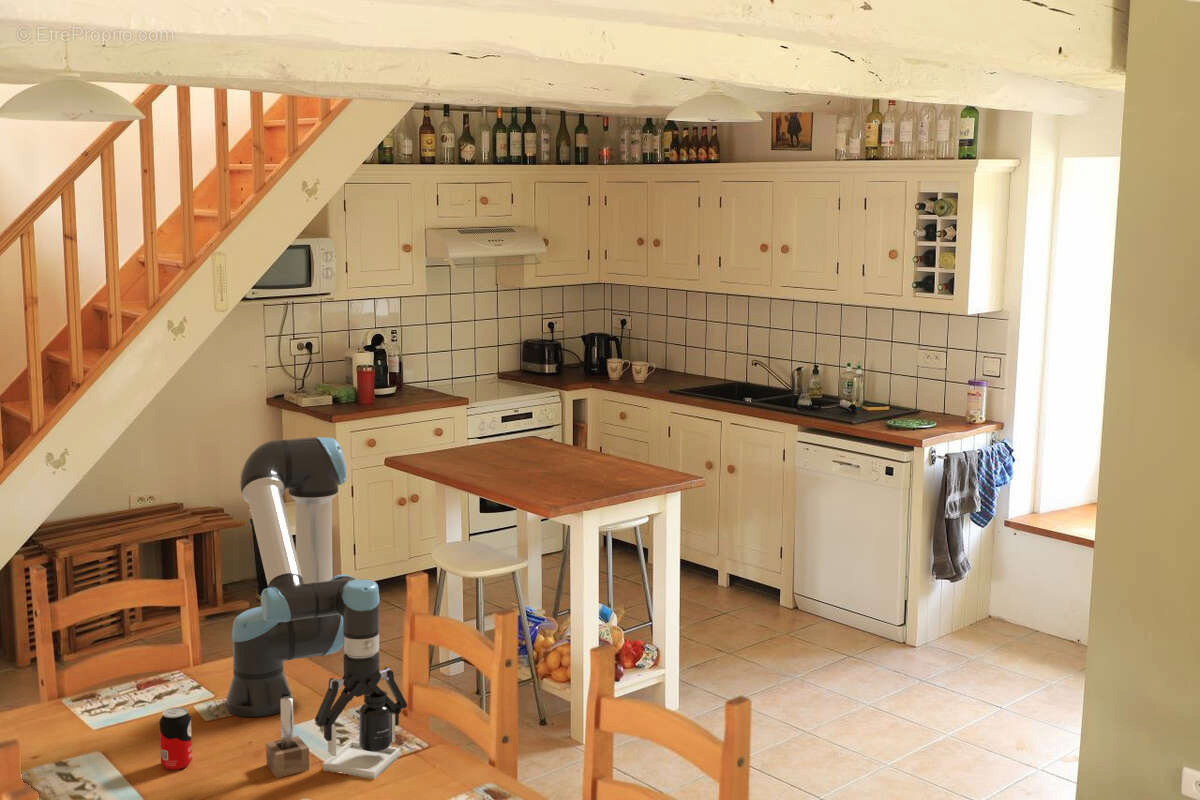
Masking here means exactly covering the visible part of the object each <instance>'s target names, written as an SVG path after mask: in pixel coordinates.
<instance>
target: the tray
mask: <svg viewBox="0 0 1200 800" xmlns="http://www.w3.org/2000/svg"><path fill="white" fill-rule="evenodd" d="M400 756H401V748H398V747H394V746H389V747H388V748H387V749H385V750H382V751H377V752H370V751H365V750H363V749H362V748H361V747H360V745H359V741H355V740H350V741H348V742H347V743H346V744H345V745H343V746H342V747H341V748H340V749H338V750H337V751H336V756H332V755H331V756H330V757H328V759H326V761H324V762H323V763H322V771H324V772H328V771H331V772H330V773H334V772H342V773H346V774H351V775H350V776H352V775H354V776H353V777H358V776H359V778H363V777H365V779H369V778H371V780H376V778H378V777H379V776H380V775H381V774H382V773H383V772H384V771H385V770H386V769H388V768H389V767H390V766H391V765H392V764H393V763H394V762H395V761H396V760H397V759H398V758H400ZM346 774H345V775H346ZM379 774H380V775H379ZM378 775H379V776H378Z"/></svg>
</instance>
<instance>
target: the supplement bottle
mask: <svg viewBox="0 0 1200 800" xmlns="http://www.w3.org/2000/svg"><path fill="white" fill-rule="evenodd" d="M381 690H382V691H383V692H384V693H385V694H382V695H377V694H376V693H375V692H374V691H372V692H371V693H370V694H369V695H363V696H364V698H363V702H364V703H363V704H362V705H361V706H360V708H359V712H358V713H359V714H358V715H359V716H358V717H359V718H358V719H359V723H358V724H359V727H358V728H359V729H358V738H359V739H358V740H359V741H358V742H359V745H360V747H361V748H362V749H363V750H365V751H370V752H377V751H382V750H385V749H387V748H388V747H391V744H392V742H391V707H390V706H389V705H388V704H386V702H387V696H388V694H387V693H388V692H386V691H385V690H383V689H381Z"/></svg>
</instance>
